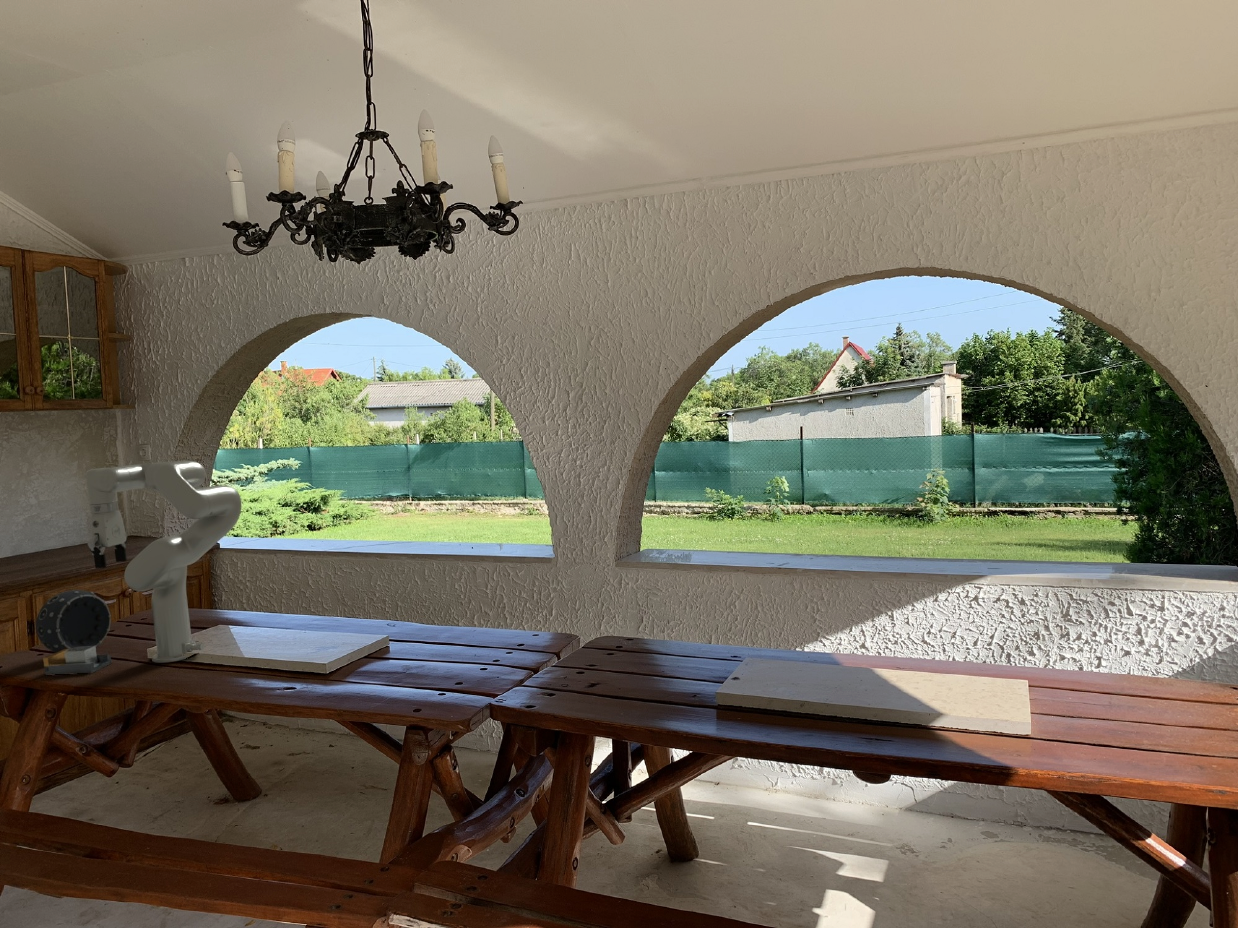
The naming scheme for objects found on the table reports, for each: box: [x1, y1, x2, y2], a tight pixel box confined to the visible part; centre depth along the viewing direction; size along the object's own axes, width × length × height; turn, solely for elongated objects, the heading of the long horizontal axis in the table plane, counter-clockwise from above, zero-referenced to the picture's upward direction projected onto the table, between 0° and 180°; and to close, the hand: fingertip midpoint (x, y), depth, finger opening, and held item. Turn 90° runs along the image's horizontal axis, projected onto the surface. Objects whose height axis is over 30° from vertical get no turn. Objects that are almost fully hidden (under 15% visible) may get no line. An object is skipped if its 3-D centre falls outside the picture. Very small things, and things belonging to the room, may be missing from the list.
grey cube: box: [65, 646, 98, 664], centre depth 262 cm, size 7×5×5 cm
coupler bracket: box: [42, 649, 112, 675], centre depth 262 cm, size 14×9×5 cm, turn 86°
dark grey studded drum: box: [35, 589, 112, 653], centre depth 281 cm, size 11×20×20 cm, turn 155°
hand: (111, 564), depth 273 cm, fingers open, 9 cm apart
